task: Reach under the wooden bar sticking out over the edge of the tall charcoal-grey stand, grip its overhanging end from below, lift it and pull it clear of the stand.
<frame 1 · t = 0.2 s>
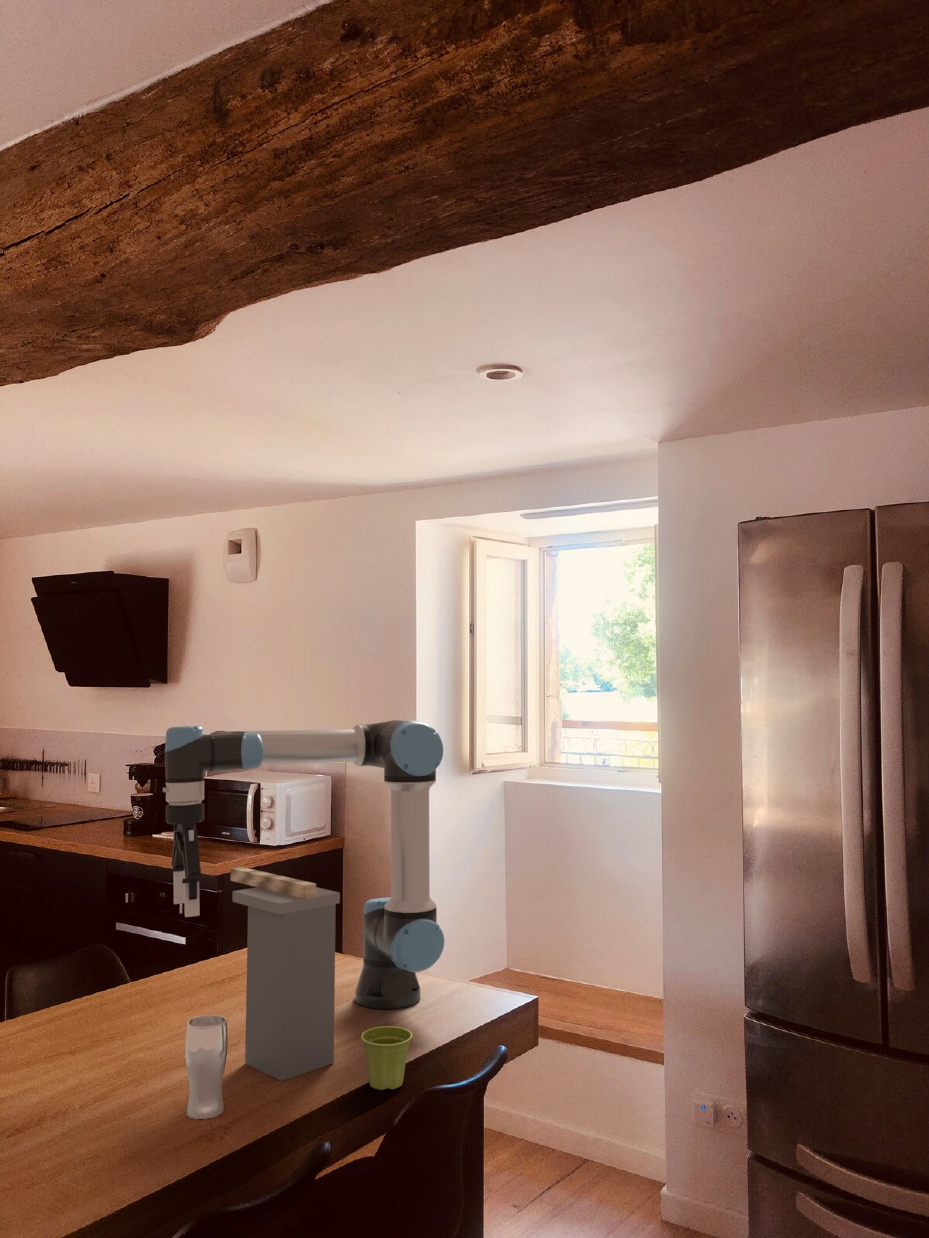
hand: (186, 909, 194), 27 cm above the table, tool pointing down, fingers open, 13 cm apart
grey stand: (283, 1060, 186), on the table
wooden bar: (271, 888, 192), point 32 cm above the table, touching grey stand
beer glass: (205, 1113, 163), on the table
plant pot: (386, 1085, 175), on the table
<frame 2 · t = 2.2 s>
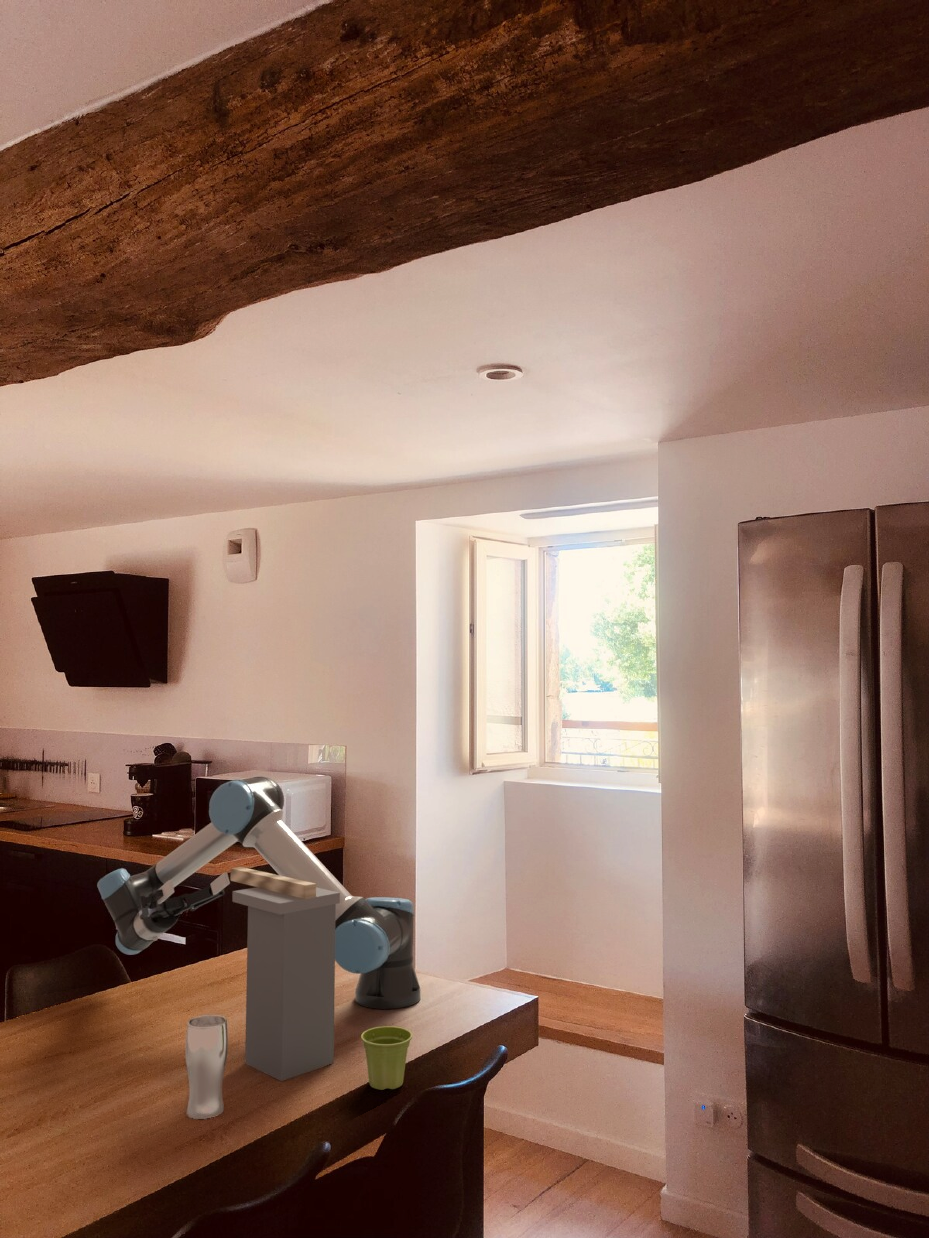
hand: (200, 881, 211), 30 cm above the table, tool pointing upward, fingers open, 13 cm apart
nothing on the table moved.
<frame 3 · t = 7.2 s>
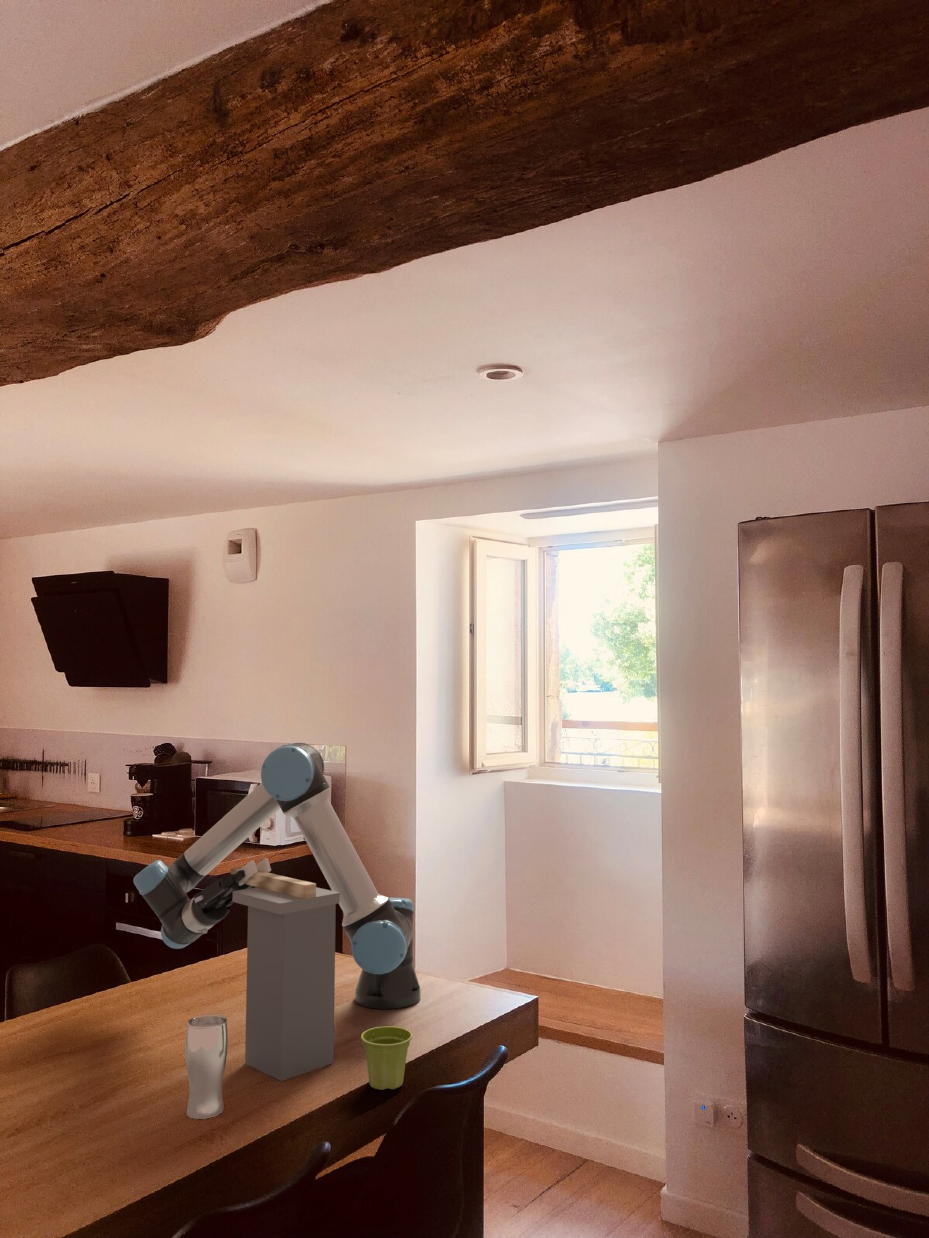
hand: (261, 865, 195), 36 cm above the table, tool pointing upward, fingers closed on wooden bar, 2 cm apart
wooden bar: (271, 888, 192), point 32 cm above the table, touching gripper
everything else where it was.
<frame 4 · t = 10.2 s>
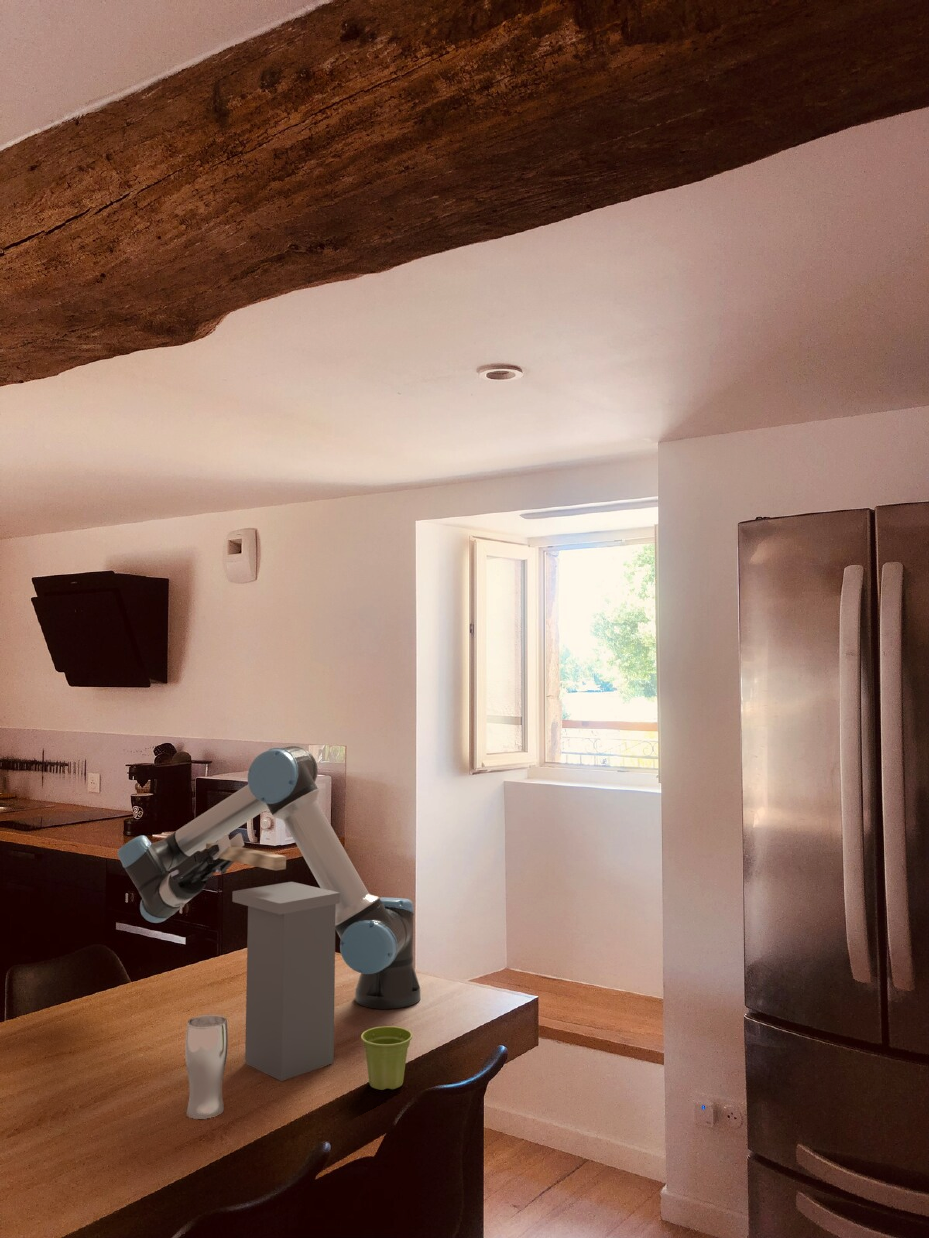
hand: (234, 839, 203), 40 cm above the table, tool pointing upward, fingers closed on wooden bar, 2 cm apart
wooden bar: (244, 861, 200), point 36 cm above the table, touching gripper
everything else where it was.
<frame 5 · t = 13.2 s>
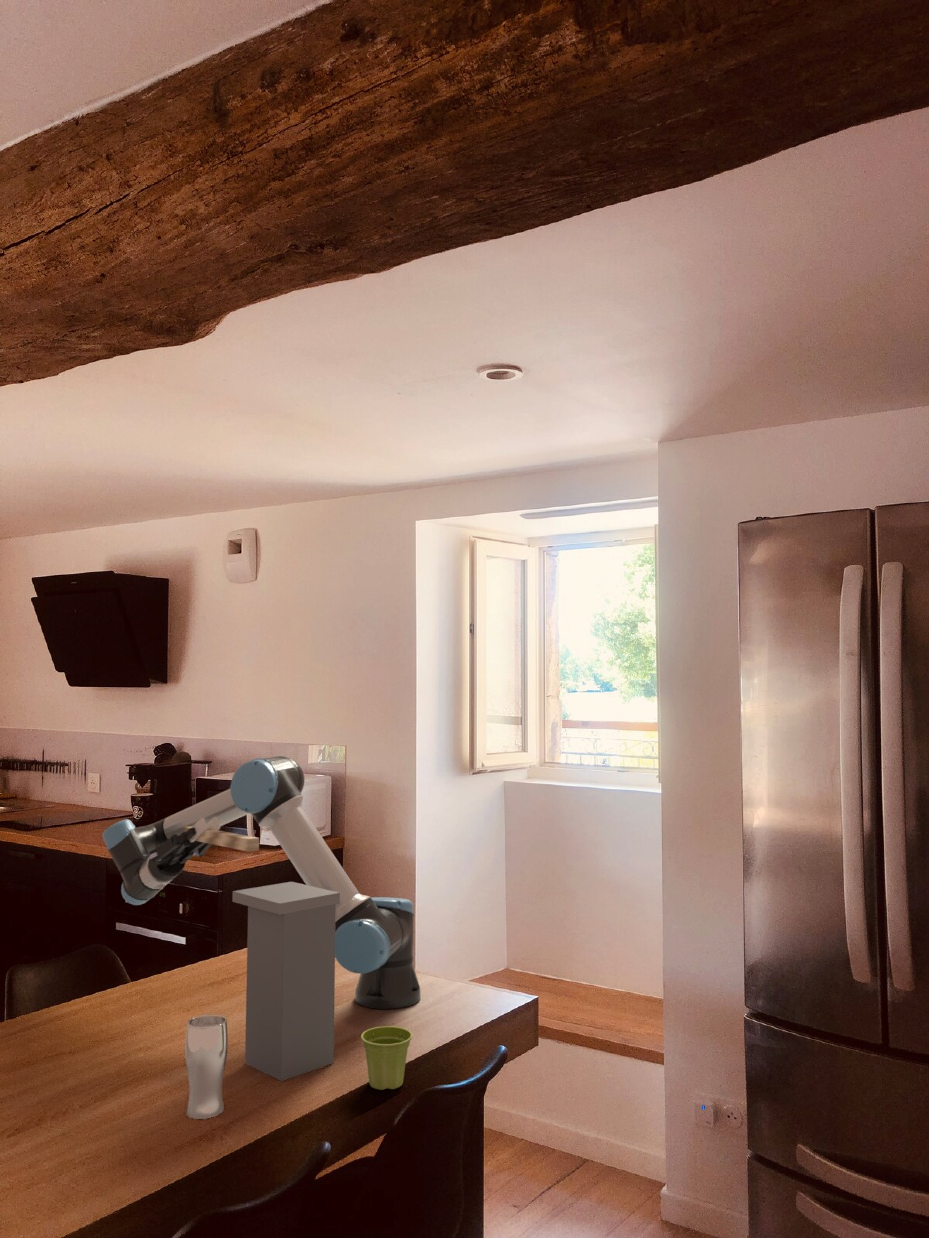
hand: (210, 823, 209), 43 cm above the table, tool pointing upward, fingers closed on wooden bar, 2 cm apart
wooden bar: (219, 843, 206), point 39 cm above the table, touching gripper
everything else where it was.
at the end: wooden bar touching gripper; wooden bar moved 20.6 cm from its start; wooden bar point 38.7 cm above the table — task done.
